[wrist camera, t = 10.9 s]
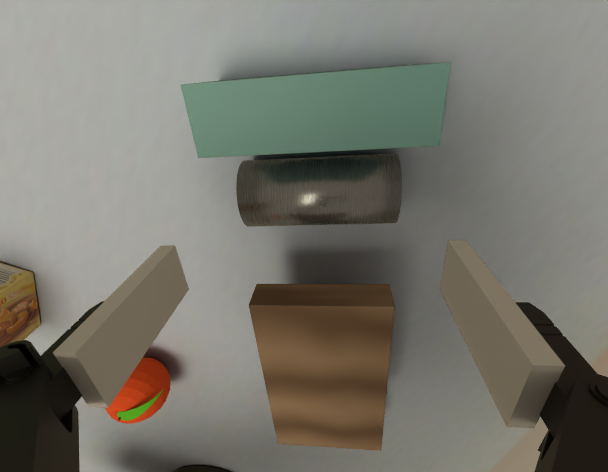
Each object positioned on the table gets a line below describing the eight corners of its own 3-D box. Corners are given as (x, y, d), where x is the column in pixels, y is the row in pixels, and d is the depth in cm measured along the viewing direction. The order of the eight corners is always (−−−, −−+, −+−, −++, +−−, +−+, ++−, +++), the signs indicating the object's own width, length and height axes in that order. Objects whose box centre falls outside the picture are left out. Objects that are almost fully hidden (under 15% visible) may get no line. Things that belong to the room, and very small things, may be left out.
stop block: (414, 127, 22) (439, 145, 17) (229, 138, 23) (198, 158, 18) (421, 64, 20) (450, 62, 15) (218, 80, 22) (180, 84, 16)
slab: (378, 424, 31) (381, 450, 29) (281, 419, 32) (278, 443, 30) (389, 284, 22) (394, 306, 20) (256, 283, 23) (248, 305, 21)
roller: (387, 211, 25) (399, 233, 20) (259, 215, 26) (242, 235, 22) (390, 149, 23) (403, 157, 19) (252, 156, 25) (232, 165, 20)
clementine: (163, 336, 36) (127, 392, 30) (197, 372, 38) (170, 431, 32) (116, 352, 38) (73, 407, 32) (151, 385, 41) (118, 441, 35)
